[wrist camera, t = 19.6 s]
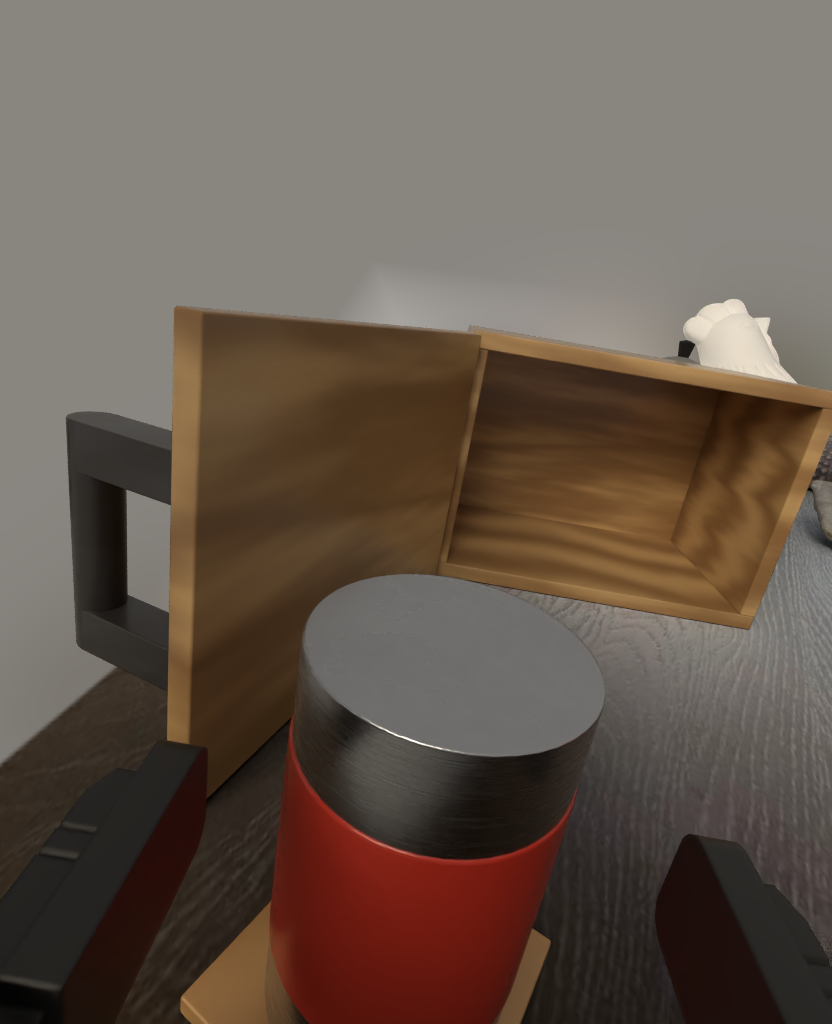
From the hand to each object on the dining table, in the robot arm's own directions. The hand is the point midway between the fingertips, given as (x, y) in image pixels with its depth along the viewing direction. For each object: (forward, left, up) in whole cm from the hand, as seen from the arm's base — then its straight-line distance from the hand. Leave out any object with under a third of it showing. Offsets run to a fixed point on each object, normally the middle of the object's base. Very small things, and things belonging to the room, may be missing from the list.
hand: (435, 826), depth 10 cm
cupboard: (-14, +34, -9) cm, 38 cm away
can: (-2, +2, -8) cm, 9 cm away
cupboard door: (-16, +10, -9) cm, 21 cm away
